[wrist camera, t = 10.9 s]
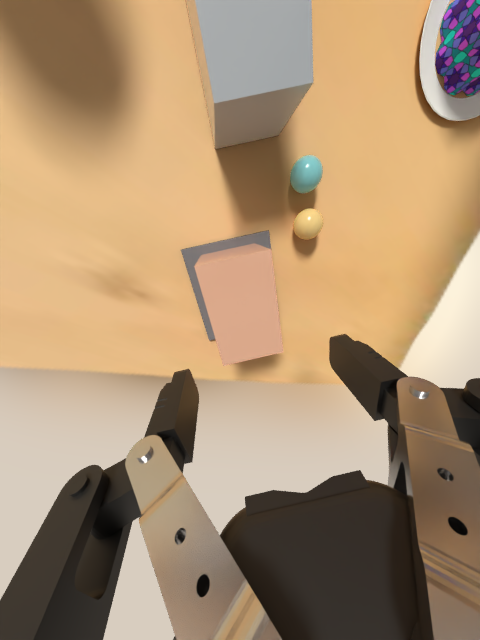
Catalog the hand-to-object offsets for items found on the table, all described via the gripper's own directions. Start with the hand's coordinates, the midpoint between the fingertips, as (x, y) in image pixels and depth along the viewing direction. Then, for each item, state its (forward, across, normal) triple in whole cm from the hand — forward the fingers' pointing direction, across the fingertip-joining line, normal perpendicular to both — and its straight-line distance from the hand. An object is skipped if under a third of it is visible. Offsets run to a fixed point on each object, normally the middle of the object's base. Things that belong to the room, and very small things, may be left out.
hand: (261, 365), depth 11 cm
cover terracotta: (+15, 0, 0) cm, 15 cm away
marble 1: (+15, -9, -10) cm, 20 cm away
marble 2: (+15, -9, -6) cm, 18 cm away
